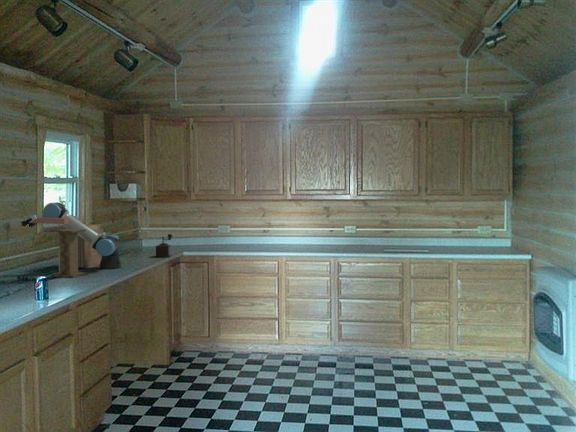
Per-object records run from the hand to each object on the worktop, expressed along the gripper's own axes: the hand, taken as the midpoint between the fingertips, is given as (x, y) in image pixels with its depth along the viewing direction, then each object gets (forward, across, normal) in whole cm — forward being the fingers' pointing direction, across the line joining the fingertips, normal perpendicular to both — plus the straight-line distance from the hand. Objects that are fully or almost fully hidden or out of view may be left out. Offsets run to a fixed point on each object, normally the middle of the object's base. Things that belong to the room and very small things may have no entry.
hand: (38, 216), depth 384 cm
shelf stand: (+1, 0, -45) cm, 45 cm away
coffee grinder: (+8, -107, -49) cm, 118 cm away
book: (-13, -41, -37) cm, 57 cm away
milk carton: (-13, -17, -37) cm, 43 cm away
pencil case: (+4, 0, -7) cm, 8 cm away
